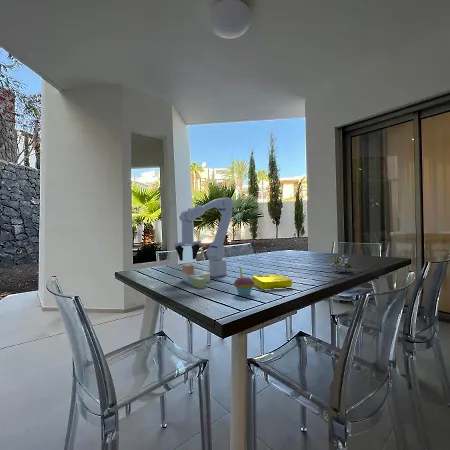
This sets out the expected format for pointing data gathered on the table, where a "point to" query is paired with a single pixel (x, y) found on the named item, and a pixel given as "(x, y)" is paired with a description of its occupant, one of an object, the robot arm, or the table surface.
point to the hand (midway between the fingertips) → (187, 259)
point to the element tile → (271, 281)
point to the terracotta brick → (188, 269)
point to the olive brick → (199, 282)
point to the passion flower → (340, 262)
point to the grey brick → (186, 276)
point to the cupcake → (244, 285)
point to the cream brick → (206, 276)
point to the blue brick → (192, 277)
